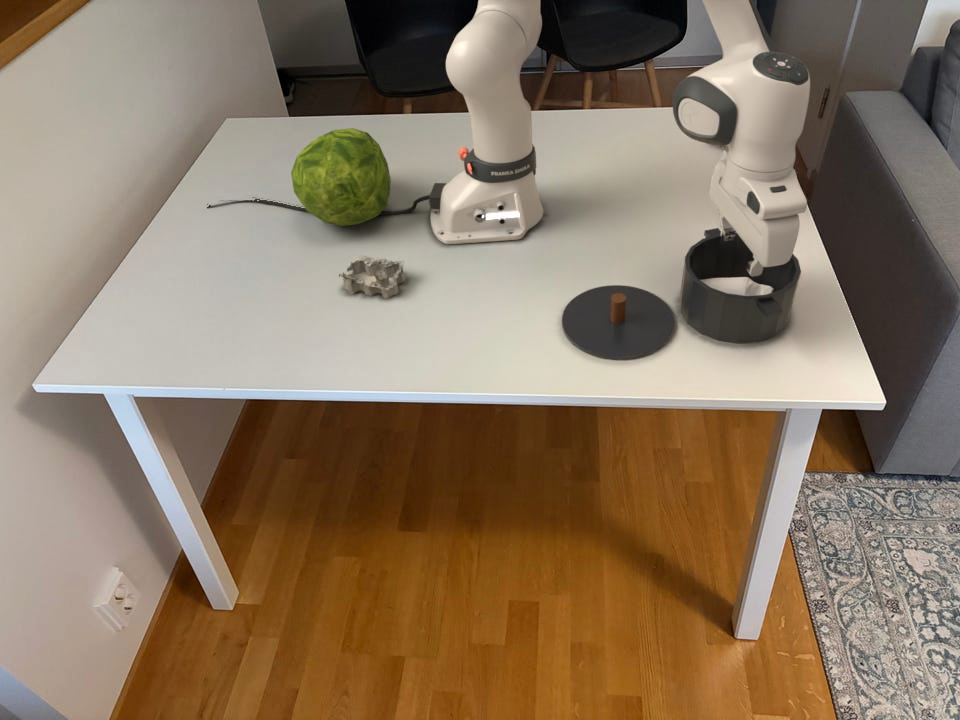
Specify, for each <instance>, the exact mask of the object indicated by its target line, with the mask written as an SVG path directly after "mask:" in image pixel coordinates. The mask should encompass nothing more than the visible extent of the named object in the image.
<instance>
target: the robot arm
mask: <svg viewBox="0 0 960 720" xmlns="http://www.w3.org/2000/svg"><path fill="white" fill-rule="evenodd" d="M700 1H701V2H702V4H703V6H704V8H705V11H706V13H707V15H708V17H709V20H710V23H711V25H712V27H713V29H714V31H715V34H716V37H717V40H718V41H719V43H720V47H721V49H722V58H721V59H719V60H718V61H715V62H713V63H711V64H708V65H705V66H704V67H702V68H700V69H698V70H697V71H694V72H692V73H691V74H689V75H688V76H686V77H684V78H683V79H682V80H681V81H680V82H679V83H678V84H677V86H676V88H675V90H674V93H673V98H672V113H673V114H672V115H673V117H674V118H673V119H674V121H675V123H676V125H677V126H678V128H679V130H680V131H681V132H682V133H683V134H684V135H685V136H686V137H688V138H690V139H691V140H694V141H697V142H699V143H704V144H708V145H713V146H723V147H724V145H727V146H728V147H727V148H726V149H725V148H724V149H723V150H722V153H721V158H720V160H718V161H717V162H716V164H715V166H714V170H713V173H712V177H711V181H710V183H709V184H710V185H709V191H708V192H709V199H710V201H711V202H712V203H713V204H714V206H715V207H716V208H717V209H718V211H719V219H720V221H719V222H720V226H721V228H720V231H721V233H720V235H721V237H722V238H723V239H724V240H725V241H728V240H733V239H734V238H735V234H736V233H737V234H738V235H739V236H740V238H741V239H742V240H743V241H744V243H745V244H746V245H747V247H748V248H749V249H750V250H751V252H752V253H753V258H754V259H755V260H754V261H750V262H748V265H747V271H748V273H749V274H750V275H751V276H752V277H753V276H759V275H761V274H762V271H763V267H773V266H778V265H783V264H785V263H787V262H788V261H789V260H790V259H791V257H792V254H794V251H795V248H796V243H797V240H798V236H799V232H800V225H801V223H800V222H801V221H800V216H799V215H800V214H803V213H805V211H806V209H807V205H808V200H807V198H806V195H805V193H804V191H803V189H802V187H801V185H800V182H799V180H798V177H797V172H796V169H794V166H795V163H796V156H797V155H796V154H797V152H796V145H797V142H798V140H799V139H800V137H801V135H802V133H803V131H804V126H805V121H806V118H807V113H808V107H809V102H810V95H811V76H810V72H809V69H808V67H807V66H806V64H805V63H804V62H803V61H801V60H800V59H799V58H797V57H796V56H793V55H791V54H789V53H785V52H782V51H780V49H779V48H778V47H777V45H776V44H775V43H774V41H773V40H772V38H771V37H770V35H769V33H768V31H767V29H766V27H765V25H764V22H763V20H762V17H761V15H760V11H759V10H758V7H757V5H756V3H755V0H700ZM476 7H477V8H476V11H475V13H474V15H473V17H472V19H471V20H470V21H469V22H468V23H467V24H466V25H465V26H464V27H463V28H462V29H461V30H460V31H459V32H458V33H457V34H456V36H455V37H454V40H453V41H452V43H451V45H450V48H449V50H448V53H447V54H446V59H445V71H446V75H447V78H448V79H449V82H450V84H451V85H452V86H453V87H454V89H455V90H456V91H458V93H460V94H461V95H462V96H463V98H464V101H465V104H466V108H467V110H468V115H469V121H470V128H471V139H472V149H471V150H470V151H469V149H468V148H467V147H466V146H462V147H460V148H459V150H458V151H457V154H458V156H459V159H460V160H461V161H462V162H463V168H464V169H463V170H461V172H459V173H458V174H457V175H455V177H453V178H452V179H451V180H450V181H448V182H446V183H445V182H435V183H434V184H433V186H432V188H431V191H430V193H429V194H427V195H422V196H420V197H419V198H417V199H415V200H414V201H413V202H412V206H411V207H409V208H407V209H403V210H393V211H392V210H383V211H382V212H381V213H380V214H379V215H378V216H398V215H405V214H410V213H413V212H414V211H415V210H416V209H417V206H418V204H420V203H422V202H424V201H428V202H429V209H430V210H431V212H430V225H431V230H432V233H433V235H434V236H435V237H436V238H437V239H438V241H440V242H441V243H443V244H445V245H461V244H476V243H488V242H503V241H505V242H506V241H517V240H521V239H523V238H524V236H525V235H526V234H527V232H528V231H529V230H530V229H532V228H533V227H535V226H536V225H537V224H538V223H540V221H541V220H542V218H543V217H544V208H543V205H542V202H541V198H540V195H539V191H538V187H537V182H536V174H537V152H536V147H535V146H534V143H533V122H532V120H533V119H532V118H533V117H532V107H531V105H530V102H528V100H527V99H526V98H525V97H524V94H523V90H522V86H521V70H522V66H523V65H524V63H525V62H526V61H527V59H528V58H529V57H530V55H532V53H533V51H534V50H535V48H536V47H537V45H538V41H539V39H540V35H541V32H542V27H543V18H542V14H541V0H478V1H477V6H476ZM252 198H254V197H252ZM257 200H259V201H258V202H257ZM267 200H268V199H267ZM267 200H260V199H255V200H254V201H255V202H256V203H261V204H267V205H272V206H273V205H274V206H280V207H284V208H288V209H291V210H297V211H302V212H306V213H309V212H308V211H307V210H306V209H305V208H301V207H303V205H300V206H301V207H296V206H298V205H296V204H295V205H296V206H291V205H287V204H283V203H278V202H273V201H275V200H274V199H273V201H267ZM250 202H253V201H252V200H251V201H250Z"/></svg>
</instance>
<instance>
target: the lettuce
mask: <svg viewBox="0 0 960 720" xmlns="http://www.w3.org/2000/svg"><path fill="white" fill-rule="evenodd" d="M290 175H291V182H292V188H293V192H294V195H295V196H296V197H297V199H298V201H299V202H300V203H301V204H302V207H305V209H306V210H307V211H308V212H307V213H310V214H311V215H313V216H314V217H316V218H317V219H319V220H321V221H322V222H323V223H324V224H325V223H326V224H328V225H329V224H330V225H332V226H333V225H334V226H338V227H343V226H344V227H347V226H354V225H360V224H363V223H365V222H367V221H370V220H372V219H374V218H376V217H379V216H380V215H379V214H380V213H381V212H382V211H384V210H385V209H386V207H387V206H388V205H389V201H390V193H391V186H392V185H391V184H392V177H391V174H390V168H389V163H388V162H387V158H386V157H385V154H384V152H383V150H382V148H381V145H380V143H378V142H377V141H376V140H375V139H374V138H373V136H372V135H370V133H369V132H366V131H363V130H360V129H357V128H354V127H350V128H349V127H348V128H339V129H334V130H331V131H328V132H327V133H325V134H323V135H320V136H318V137H316V138H315V139H313V140H312V141H310V143H309V144H308V145H306V146H305V147H304V148H303V149H302V150H300V152H299V153H298V154H297V155H296V158H295V161H294V164H293V166H292V169H291V172H290Z"/></svg>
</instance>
